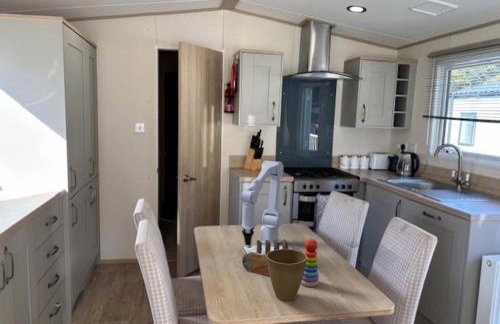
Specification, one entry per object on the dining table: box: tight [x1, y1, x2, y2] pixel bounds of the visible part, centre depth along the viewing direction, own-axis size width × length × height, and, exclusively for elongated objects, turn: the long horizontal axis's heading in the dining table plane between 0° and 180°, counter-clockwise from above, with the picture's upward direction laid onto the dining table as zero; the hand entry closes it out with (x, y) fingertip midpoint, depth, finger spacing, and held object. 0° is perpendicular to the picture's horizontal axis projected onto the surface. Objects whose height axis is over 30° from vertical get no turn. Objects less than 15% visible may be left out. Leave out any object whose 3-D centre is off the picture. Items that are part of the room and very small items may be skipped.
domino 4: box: [273, 239, 280, 250], centre depth 183 cm, size 2×5×7 cm, turn 10°
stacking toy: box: [301, 238, 320, 288], centre depth 152 cm, size 8×8×19 cm
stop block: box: [291, 245, 303, 253], centre depth 185 cm, size 3×7×3 cm, turn 10°
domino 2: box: [255, 239, 263, 254], centre depth 181 cm, size 2×5×7 cm, turn 10°
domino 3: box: [264, 240, 272, 255], centre depth 182 cm, size 2×5×7 cm, turn 10°
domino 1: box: [243, 238, 252, 249], centre depth 180 cm, size 2×5×7 cm, turn 24°
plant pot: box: [267, 248, 307, 302], centre depth 141 cm, size 15×15×16 cm
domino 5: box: [281, 239, 289, 249], centre depth 184 cm, size 2×5×7 cm, turn 10°
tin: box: [241, 251, 270, 276], centre depth 162 cm, size 15×3×8 cm, turn 62°
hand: (247, 243), depth 180 cm, fingers closed on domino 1, 5 cm apart
